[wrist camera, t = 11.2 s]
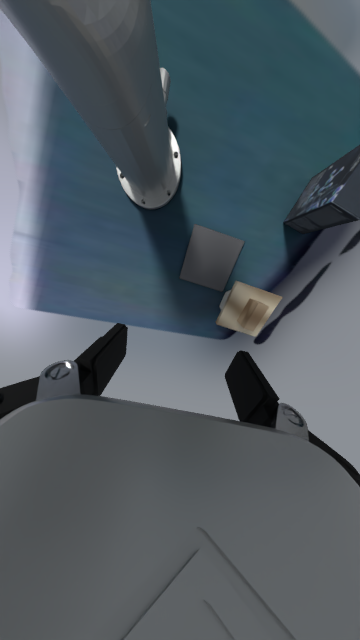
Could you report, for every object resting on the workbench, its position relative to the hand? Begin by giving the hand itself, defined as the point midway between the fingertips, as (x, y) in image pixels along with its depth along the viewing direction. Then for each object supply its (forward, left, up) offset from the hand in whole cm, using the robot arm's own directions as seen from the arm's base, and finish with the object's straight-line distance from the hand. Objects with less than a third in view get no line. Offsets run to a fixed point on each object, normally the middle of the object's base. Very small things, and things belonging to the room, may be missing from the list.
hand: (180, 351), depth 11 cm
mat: (-9, +4, -26) cm, 28 cm away
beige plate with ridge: (-1, +15, -22) cm, 27 cm away
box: (-24, +19, -27) cm, 40 cm away
